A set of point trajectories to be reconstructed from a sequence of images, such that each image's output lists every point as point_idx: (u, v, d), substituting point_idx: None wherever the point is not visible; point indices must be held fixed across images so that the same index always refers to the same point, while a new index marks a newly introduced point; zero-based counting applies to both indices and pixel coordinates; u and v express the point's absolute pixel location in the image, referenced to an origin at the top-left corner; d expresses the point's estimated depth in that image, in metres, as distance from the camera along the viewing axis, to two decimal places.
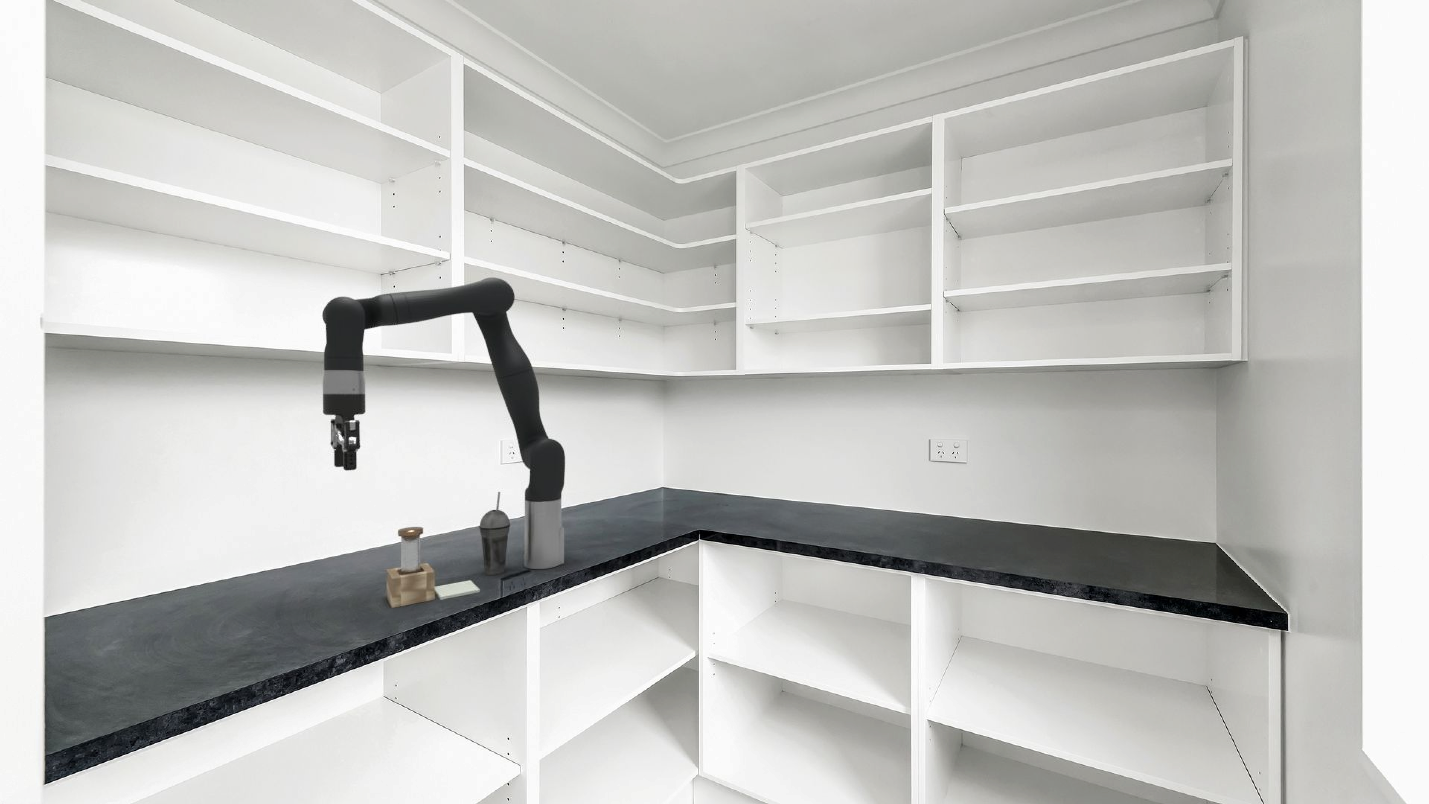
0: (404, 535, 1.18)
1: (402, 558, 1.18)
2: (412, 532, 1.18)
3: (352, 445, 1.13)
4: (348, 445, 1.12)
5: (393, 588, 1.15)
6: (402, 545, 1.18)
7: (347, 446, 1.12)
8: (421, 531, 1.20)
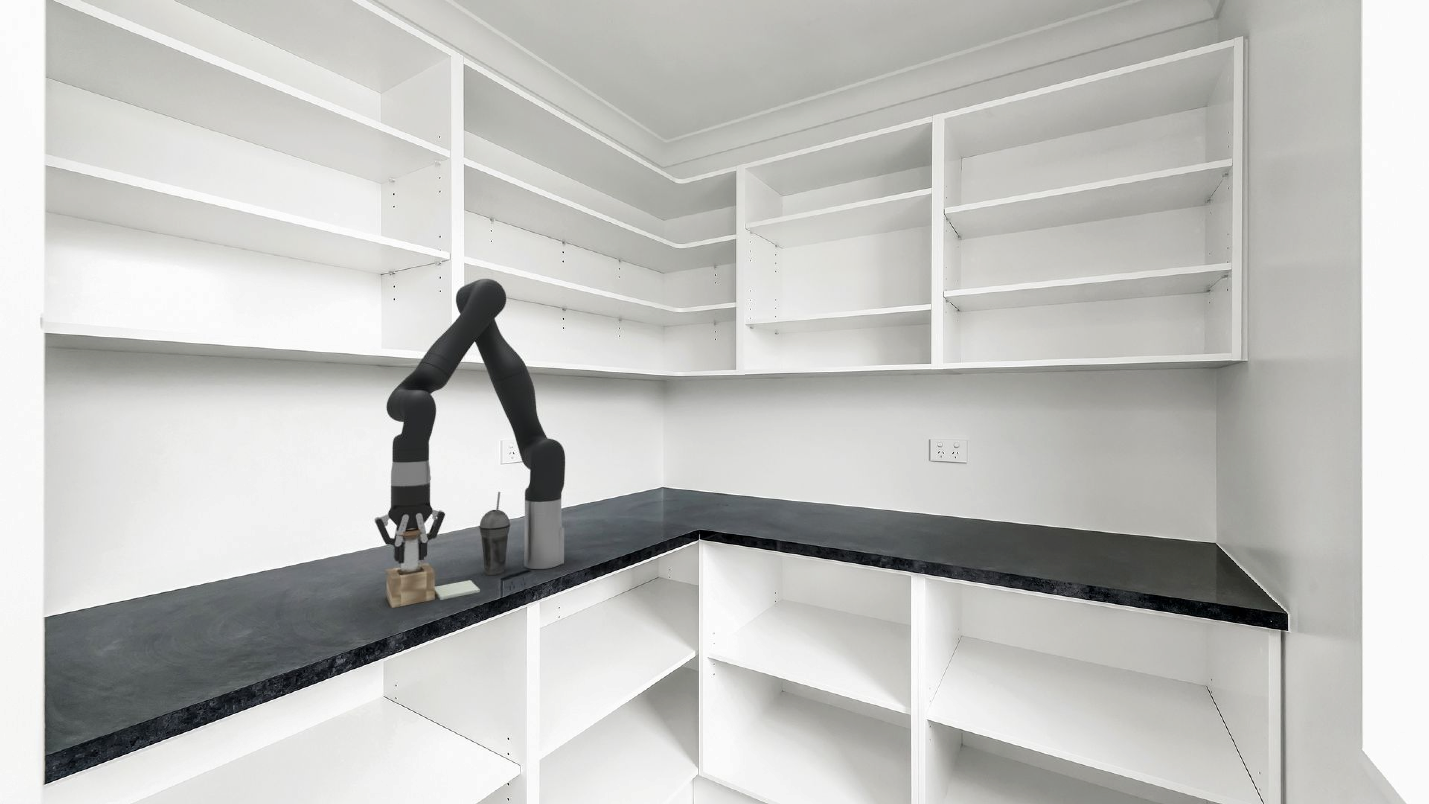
0: (404, 535, 1.18)
1: (402, 558, 1.18)
2: (412, 532, 1.18)
3: None
4: None
5: (393, 588, 1.15)
6: (402, 545, 1.18)
7: None
8: None
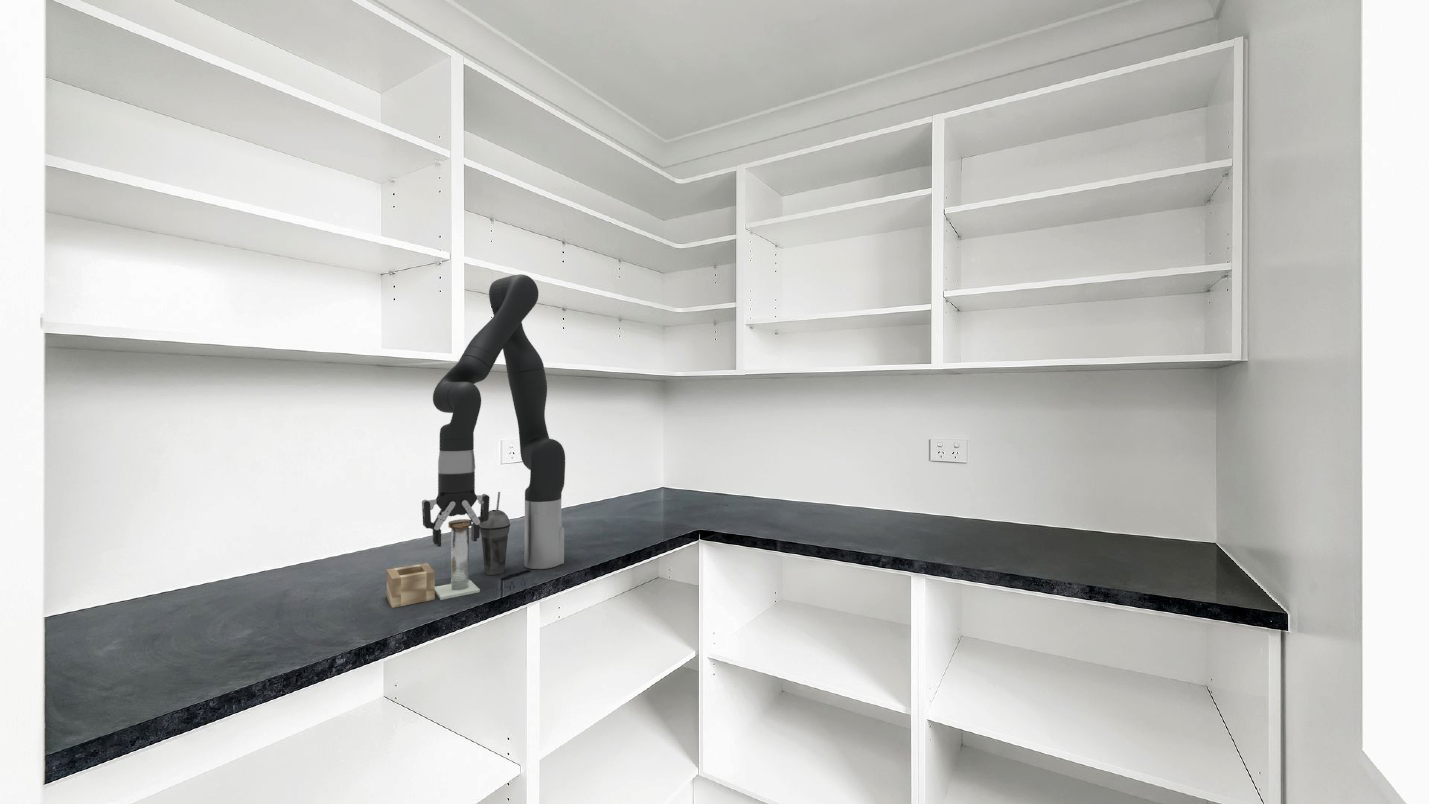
0: (455, 527, 1.23)
1: (452, 549, 1.24)
2: (462, 524, 1.23)
3: None
4: None
5: (393, 588, 1.15)
6: (452, 536, 1.24)
7: None
8: (470, 523, 1.25)
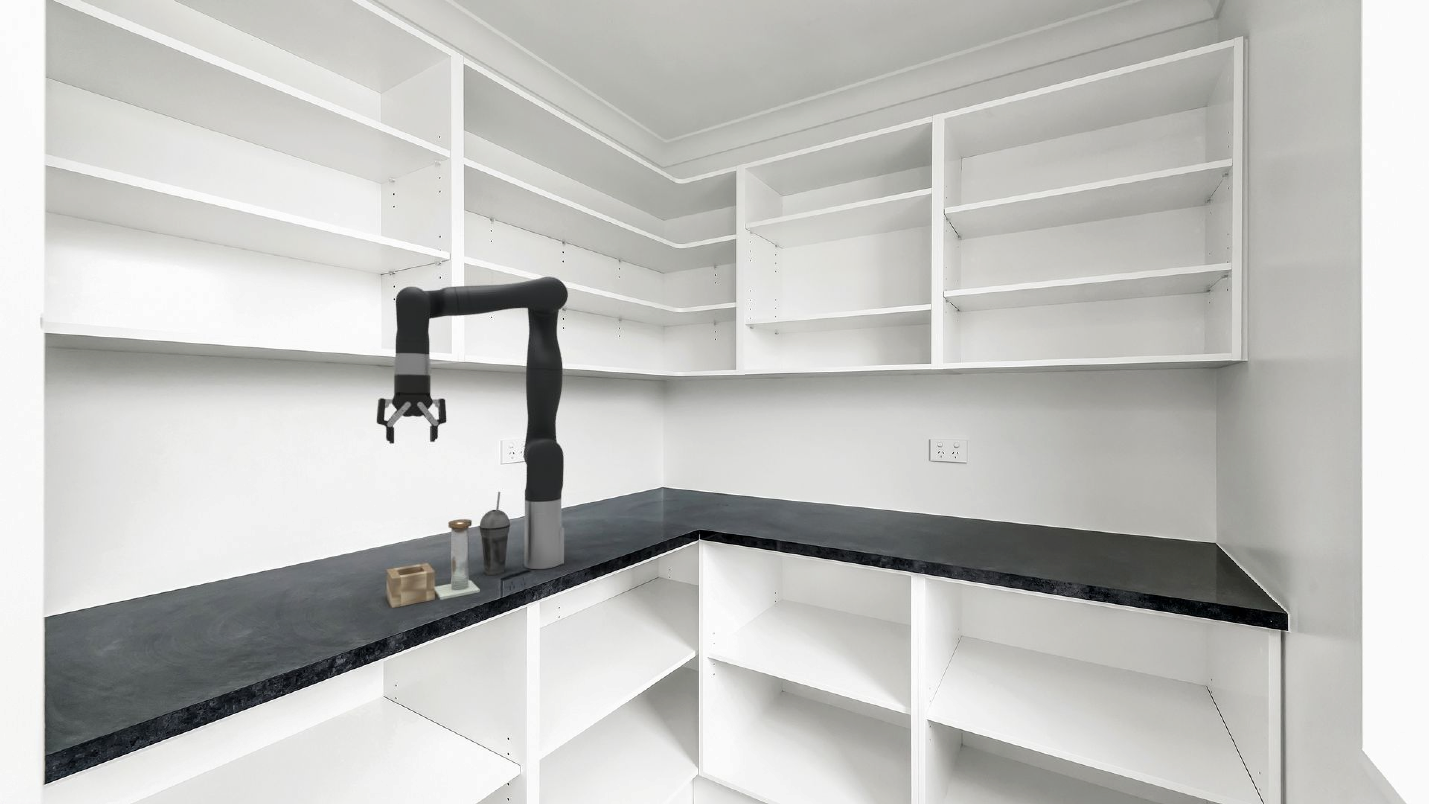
0: (455, 527, 1.23)
1: (452, 549, 1.24)
2: (462, 524, 1.23)
3: None
4: None
5: (393, 588, 1.15)
6: (452, 536, 1.24)
7: None
8: (470, 523, 1.25)
